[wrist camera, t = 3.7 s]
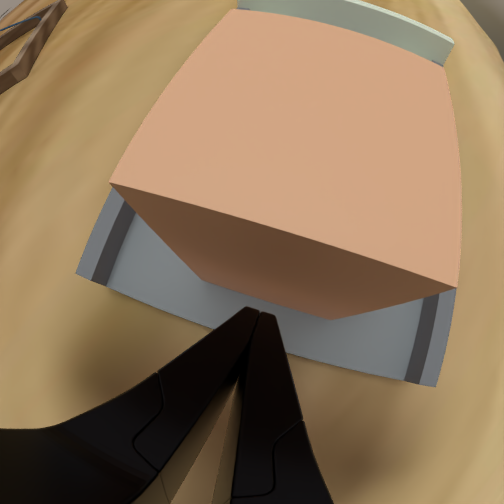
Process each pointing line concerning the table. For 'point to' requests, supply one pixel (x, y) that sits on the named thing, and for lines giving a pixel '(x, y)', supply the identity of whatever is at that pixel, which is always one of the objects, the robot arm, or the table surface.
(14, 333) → the table surface
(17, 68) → the walnut glasses tray
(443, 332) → the box
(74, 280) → the table surface
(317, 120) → the terracotta block
